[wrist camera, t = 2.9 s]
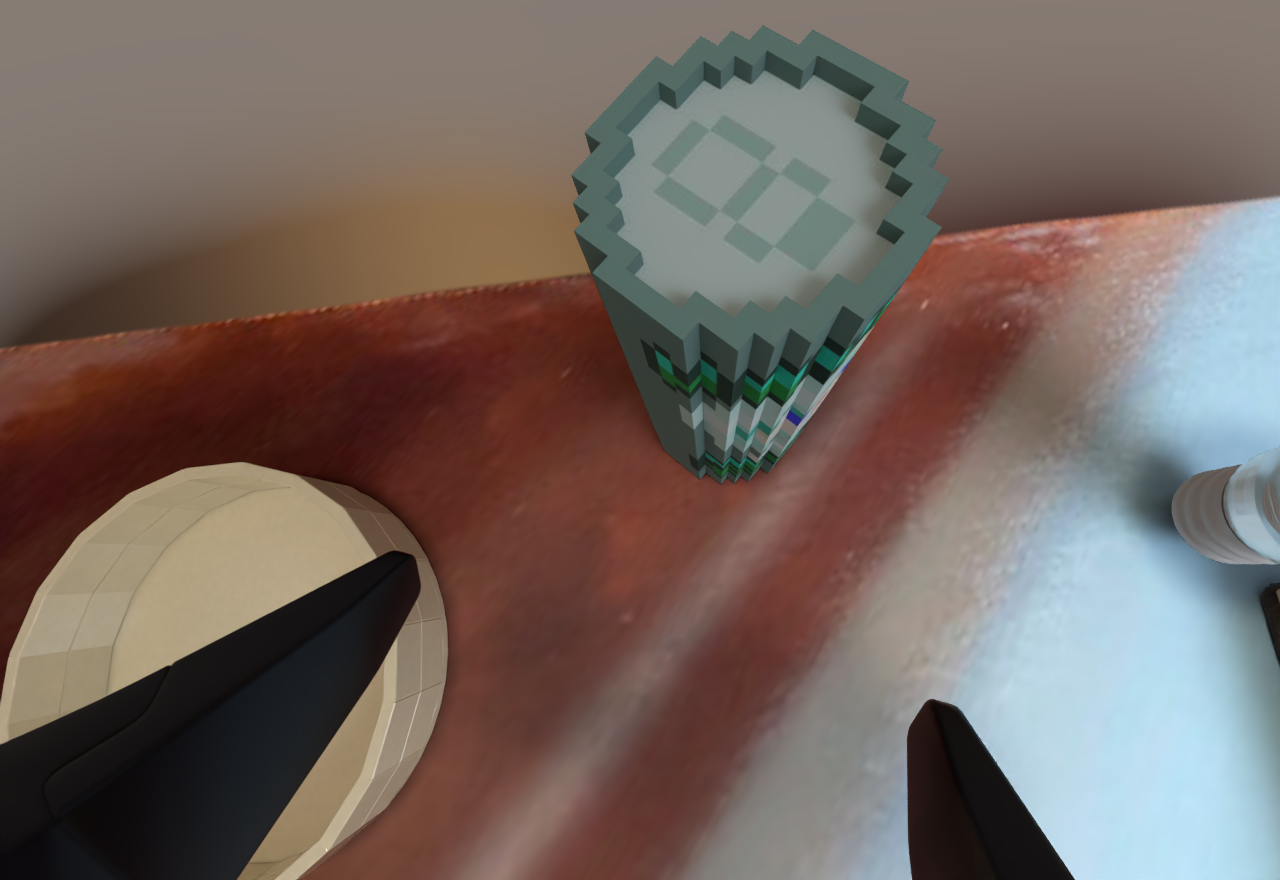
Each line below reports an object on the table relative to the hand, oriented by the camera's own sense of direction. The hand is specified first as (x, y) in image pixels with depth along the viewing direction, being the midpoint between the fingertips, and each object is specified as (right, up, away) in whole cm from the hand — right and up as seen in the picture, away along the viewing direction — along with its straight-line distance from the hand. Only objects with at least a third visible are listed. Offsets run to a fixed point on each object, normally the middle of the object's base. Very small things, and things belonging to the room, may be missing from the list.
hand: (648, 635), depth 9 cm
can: (+4, +5, +15) cm, 16 cm away
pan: (-16, -6, +15) cm, 23 cm away
